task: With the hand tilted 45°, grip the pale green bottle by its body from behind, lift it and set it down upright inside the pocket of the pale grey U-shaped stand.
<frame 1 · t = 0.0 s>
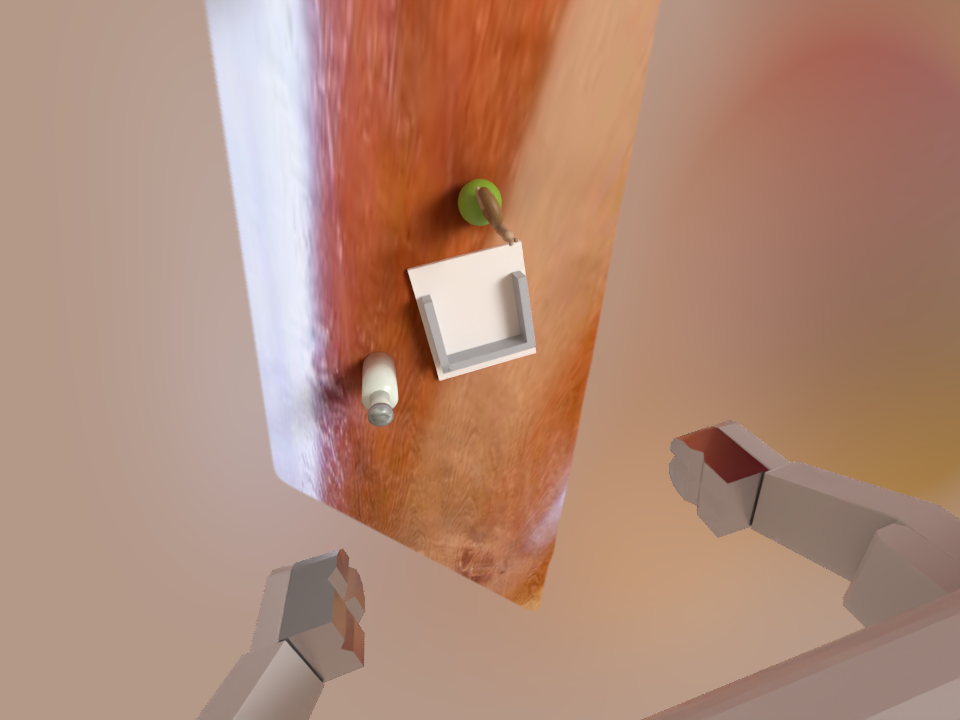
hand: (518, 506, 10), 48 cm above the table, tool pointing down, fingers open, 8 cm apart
snail figurine: (476, 203, 53), on the table
u stand: (476, 313, 60), on the table
pale green bottle: (378, 365, 60), on the table
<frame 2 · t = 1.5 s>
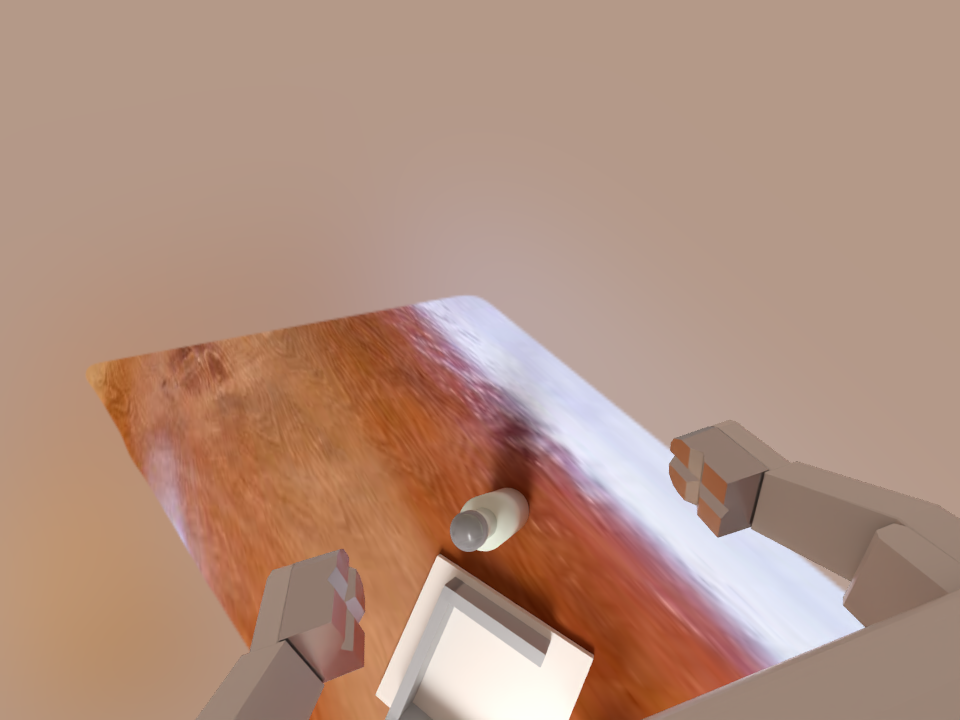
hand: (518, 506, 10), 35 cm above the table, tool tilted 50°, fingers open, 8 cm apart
u stand: (479, 674, 41), on the table
pale green bottle: (508, 509, 44), on the table
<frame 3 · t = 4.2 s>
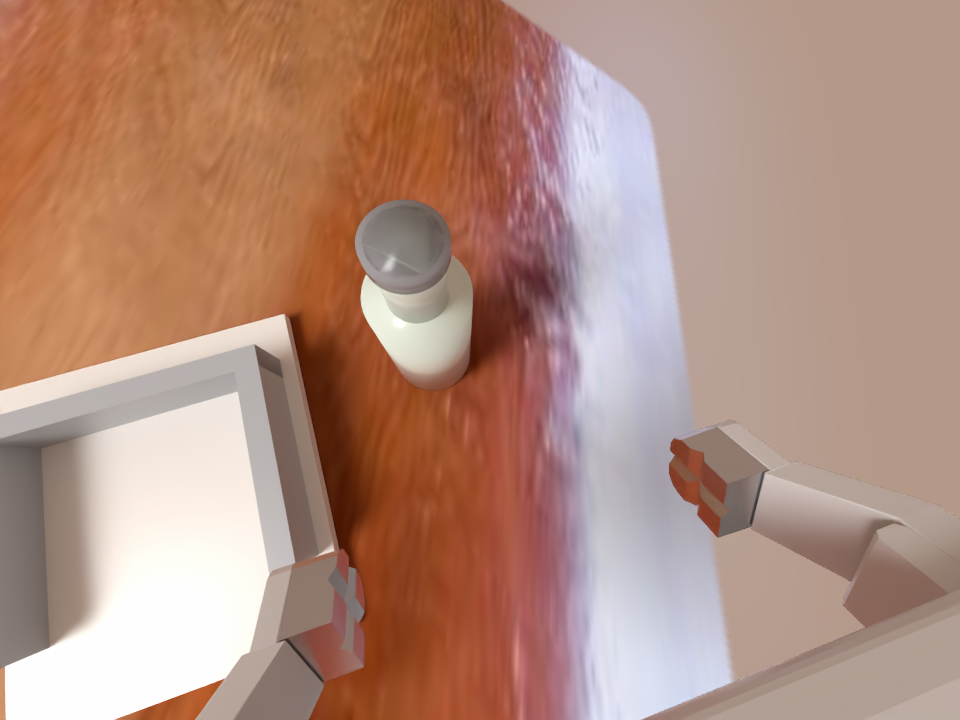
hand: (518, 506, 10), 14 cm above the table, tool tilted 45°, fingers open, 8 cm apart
u stand: (175, 503, 22), on the table
pale green bottle: (433, 354, 25), on the table
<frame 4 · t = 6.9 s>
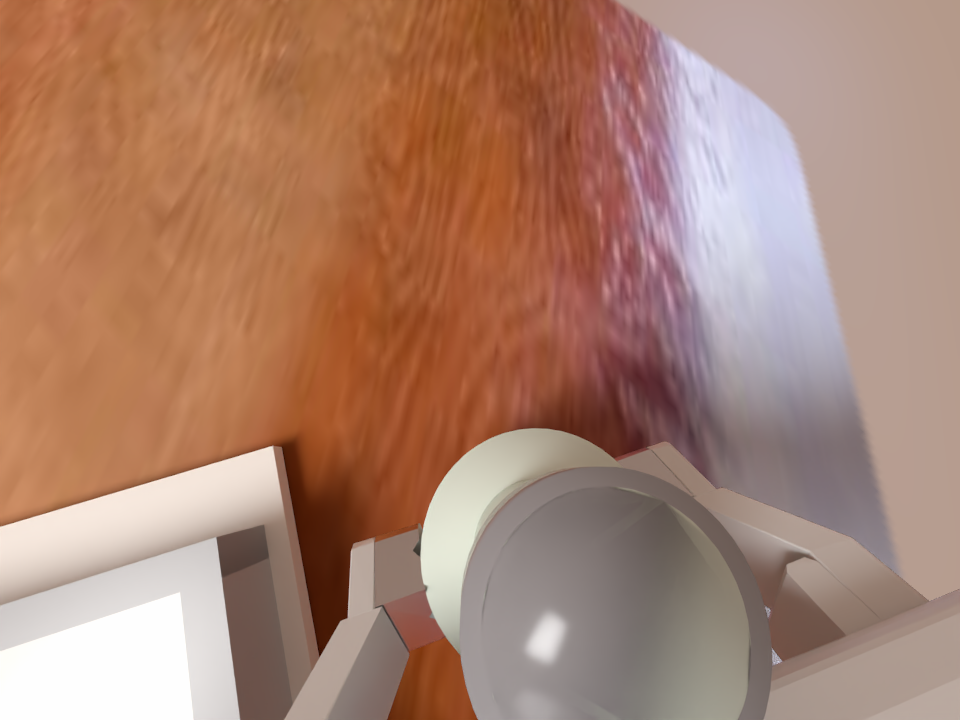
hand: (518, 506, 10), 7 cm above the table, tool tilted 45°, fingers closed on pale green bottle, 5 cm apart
pale green bottle: (501, 507, 16), on the table, touching gripper
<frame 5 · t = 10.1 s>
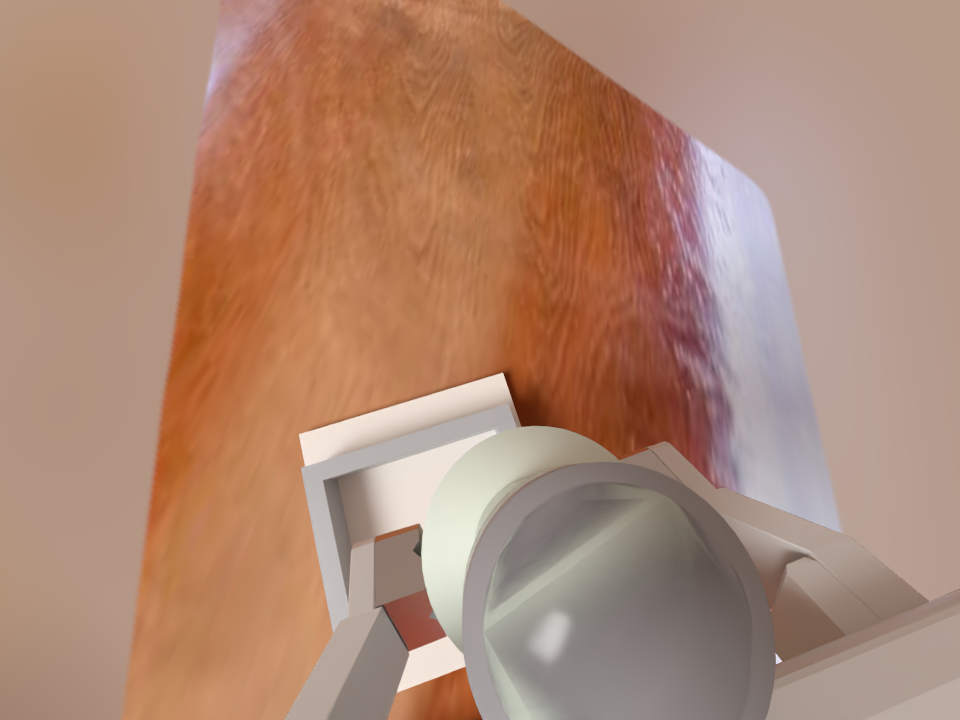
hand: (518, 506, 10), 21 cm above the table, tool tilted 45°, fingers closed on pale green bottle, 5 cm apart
u stand: (437, 521, 29), on the table
pale green bottle: (501, 506, 16), point 14 cm above the table, touching gripper
when the fingers open (9 cm above the table, at t = 13.2 s): pale green bottle drops 1 cm, resting on u stand.
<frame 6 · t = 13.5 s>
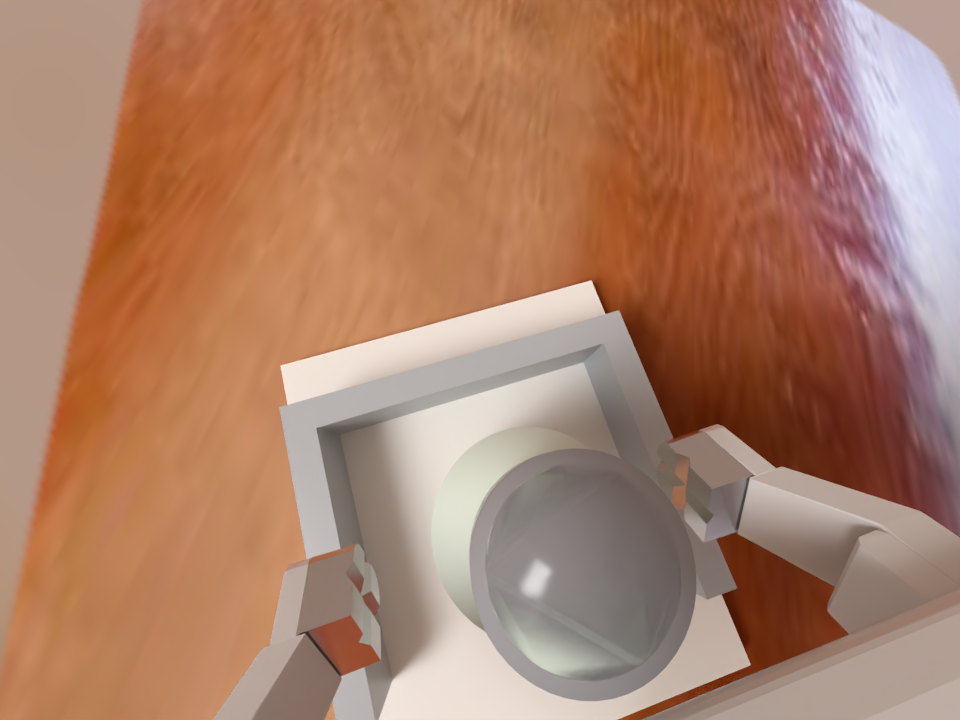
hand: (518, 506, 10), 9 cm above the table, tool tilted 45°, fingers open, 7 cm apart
u stand: (496, 502, 19), on the table
pale green bottle: (498, 504, 18), point 1 cm above the table, touching u stand
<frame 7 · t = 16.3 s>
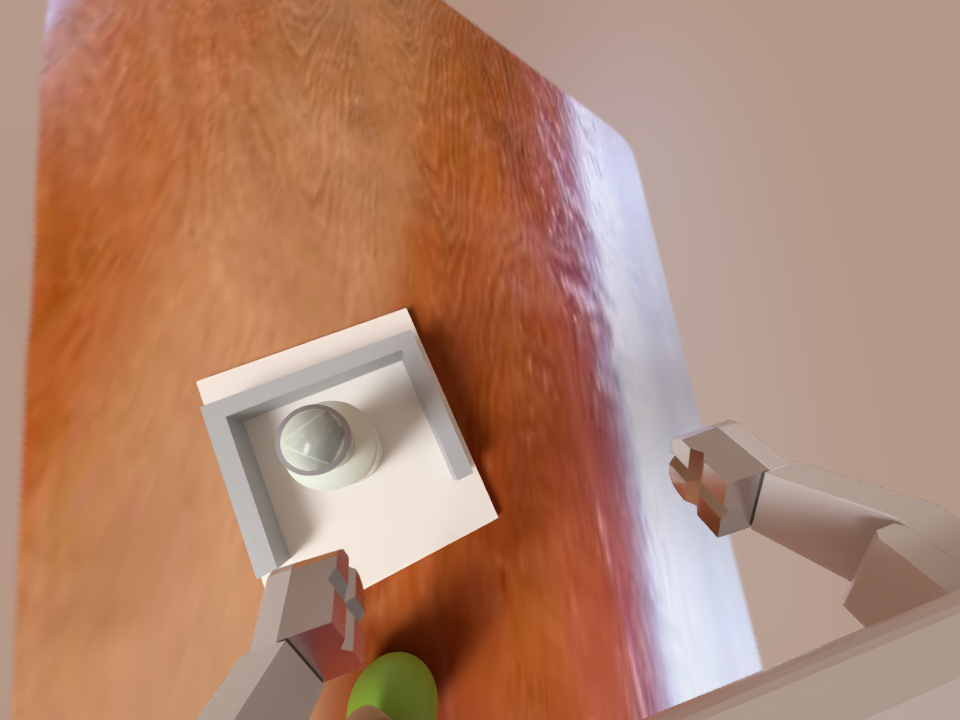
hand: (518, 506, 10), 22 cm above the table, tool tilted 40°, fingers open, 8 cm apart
snail figurine: (389, 676, 27), on the table
u stand: (352, 451, 30), on the table
pale green bottle: (350, 451, 30), point 1 cm above the table, touching u stand
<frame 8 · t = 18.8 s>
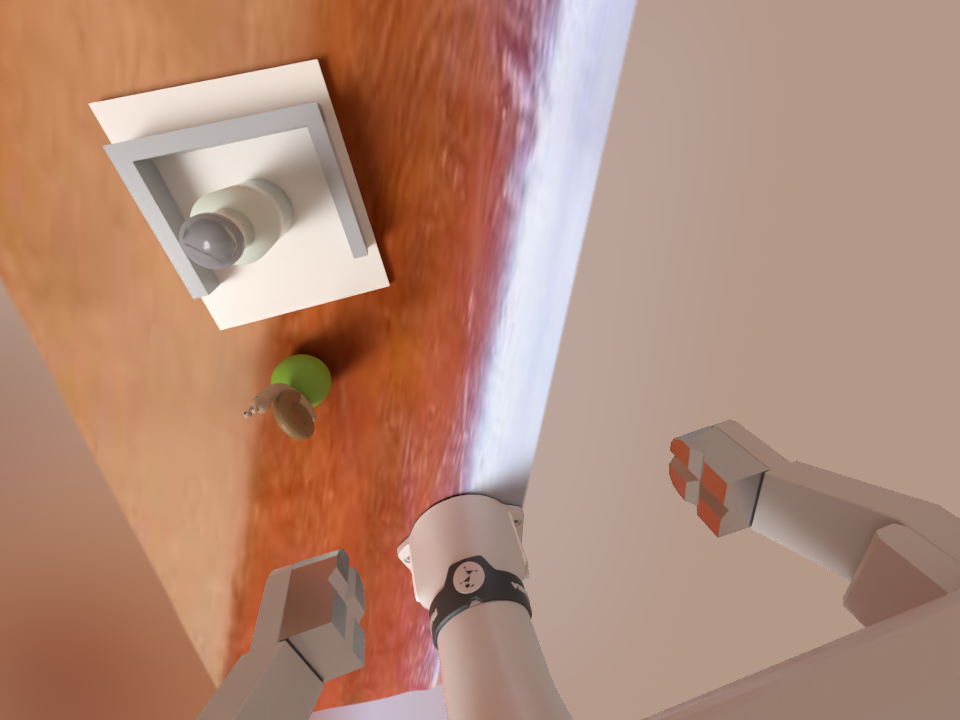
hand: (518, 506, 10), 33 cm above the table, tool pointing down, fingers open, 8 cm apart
snail figurine: (302, 364, 42), on the table
u stand: (265, 208, 34), on the table
pale green bottle: (263, 209, 34), point 1 cm above the table, touching u stand
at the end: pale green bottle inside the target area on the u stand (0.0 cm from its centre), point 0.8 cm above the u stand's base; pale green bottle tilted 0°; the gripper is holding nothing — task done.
